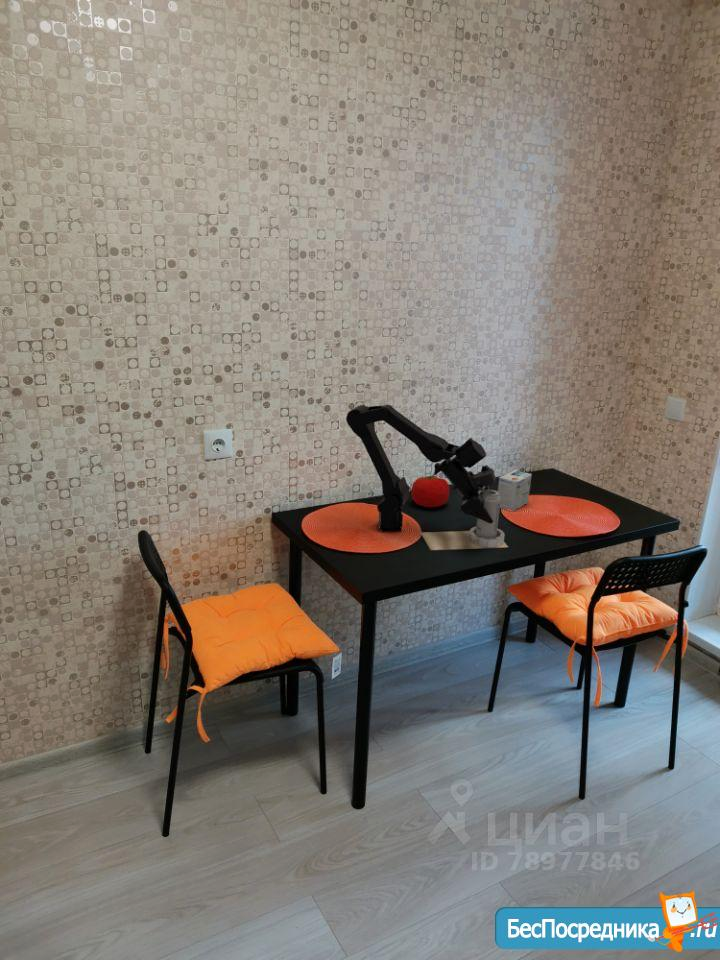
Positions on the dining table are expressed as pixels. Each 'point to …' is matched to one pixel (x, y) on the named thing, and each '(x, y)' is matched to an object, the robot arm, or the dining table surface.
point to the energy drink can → (493, 509)
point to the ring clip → (486, 539)
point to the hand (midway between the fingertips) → (493, 517)
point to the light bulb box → (514, 489)
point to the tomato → (430, 491)
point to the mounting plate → (451, 540)
